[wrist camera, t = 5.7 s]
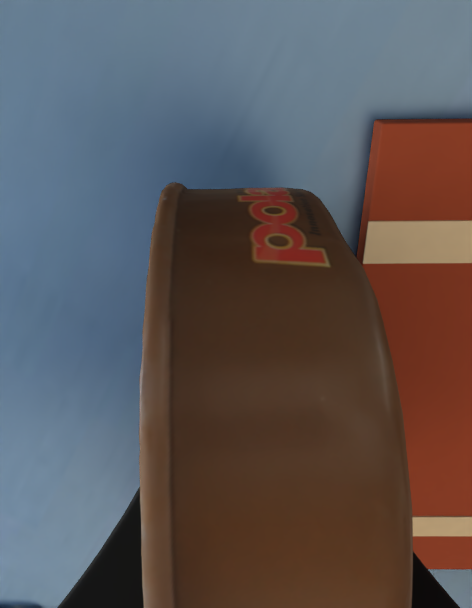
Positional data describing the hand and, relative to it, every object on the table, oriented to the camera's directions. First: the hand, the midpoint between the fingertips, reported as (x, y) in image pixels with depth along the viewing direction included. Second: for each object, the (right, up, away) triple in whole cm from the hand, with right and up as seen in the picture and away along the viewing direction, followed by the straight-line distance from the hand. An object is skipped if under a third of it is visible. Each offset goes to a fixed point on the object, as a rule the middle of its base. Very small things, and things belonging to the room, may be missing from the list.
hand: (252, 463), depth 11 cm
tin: (0, +1, +2) cm, 3 cm away
